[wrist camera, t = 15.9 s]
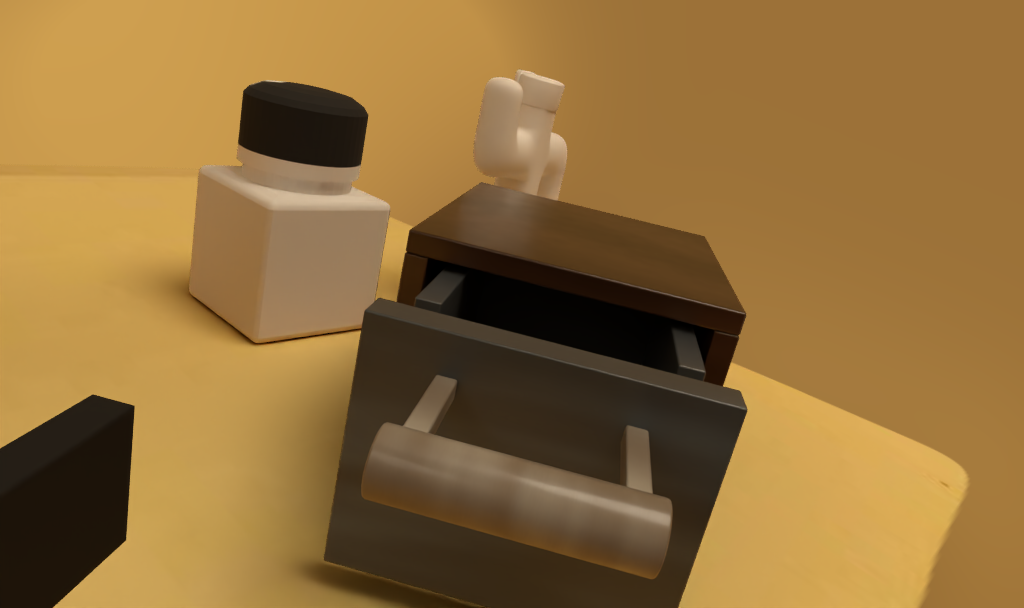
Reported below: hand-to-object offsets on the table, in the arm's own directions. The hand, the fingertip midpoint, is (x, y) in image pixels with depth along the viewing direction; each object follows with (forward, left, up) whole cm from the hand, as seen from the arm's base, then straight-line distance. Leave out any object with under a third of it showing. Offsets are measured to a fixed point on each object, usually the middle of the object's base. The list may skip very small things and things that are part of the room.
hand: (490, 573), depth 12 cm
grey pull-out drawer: (+7, +8, -6) cm, 12 cm away
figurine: (+19, +30, -7) cm, 37 cm away
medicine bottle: (+5, +29, -7) cm, 31 cm away
